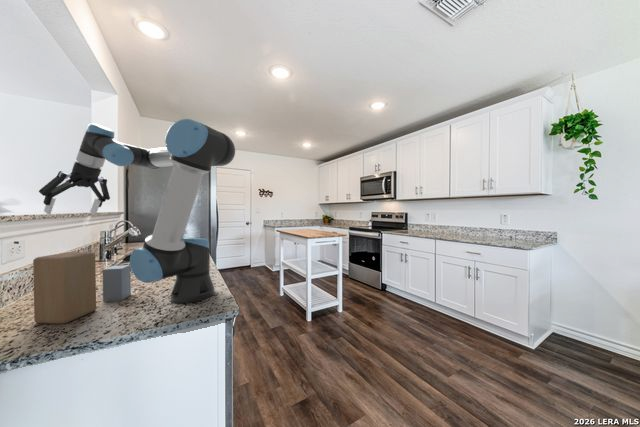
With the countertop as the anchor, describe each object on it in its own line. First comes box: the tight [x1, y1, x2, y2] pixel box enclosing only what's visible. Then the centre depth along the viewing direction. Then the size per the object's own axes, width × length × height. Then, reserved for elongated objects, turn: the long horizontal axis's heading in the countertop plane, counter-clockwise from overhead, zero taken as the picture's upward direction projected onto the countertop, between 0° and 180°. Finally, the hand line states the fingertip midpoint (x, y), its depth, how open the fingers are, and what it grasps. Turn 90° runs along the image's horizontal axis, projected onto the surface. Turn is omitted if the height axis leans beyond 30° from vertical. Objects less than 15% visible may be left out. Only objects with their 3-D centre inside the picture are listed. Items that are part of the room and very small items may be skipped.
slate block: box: [102, 264, 132, 302], centre depth 90 cm, size 6×6×12 cm
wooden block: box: [32, 251, 97, 325], centre depth 74 cm, size 10×10×20 cm
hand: (71, 213), depth 92 cm, fingers open, 13 cm apart
